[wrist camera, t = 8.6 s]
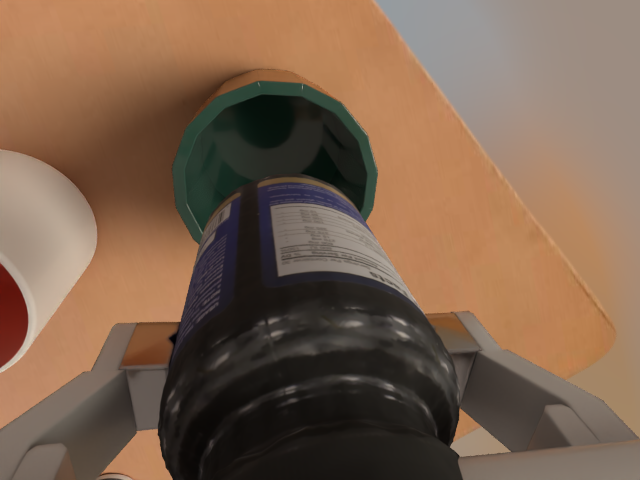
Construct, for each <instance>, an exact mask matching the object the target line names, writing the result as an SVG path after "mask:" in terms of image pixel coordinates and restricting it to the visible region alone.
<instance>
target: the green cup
mask: <svg viewBox="0 0 640 480" xmlns="http://www.w3.org/2000/svg"><path fill="white" fill-rule="evenodd" d="M293 173H297V174H304V175H308V176H311V177H313V178H317V179H319V180H322V181H324V182H326V183H328V184H330V185H332V186H334V187H336V188H337V189H339V190H340V191H341V192H342V193H343V194H344V195H345V196H347V197H348V198H349V199H350V200H351V201H352V202H353V203H354V204H355V206H356V208H357V209H358V211H359V213H360V214H361V216H362V218H363V219H364V221H365V222H366V220H367V218H368V217H369V215H370V213H371V211H372V208H373V206H374V198H375V191H376V184H377V176H378V170H377V166H376V162H375V159H374V155H373V151H372V148H371V144H370V140H369V137H368V135H367V133H366V132H365V130H364V129H363V128H362V127H361V125H360V124H359V123H358V122H357V121H356V119H355V118H354V117H353V116H352V114H351V113H350V112H349V111H348V109H347V108H346V107H345V106H344V104H342V103H341V102H340V101H339V100H337V99H336V98H335V97H333V96H332V95H330V94H329V93H328V92H326V91H325V90H324V89H322V88H321V87H320V86H318V85H316V84H314V83H312V82H310V81H308V80H307V79H305V78H303V77H301V76H299V75H297V74H295V73H293V72H290V71H281V70H274V69H257V70H253V71H251V72H247V73H244V74H241V75H239V76H237V77H234V78H232V79H229V80H227V81H225V82H224V83H223V84H222V85H221V86H220V87H219V88H218V89H217V90H216V91H215V92H214V93H213V94H212V95H211V96H210V97H209V99H208V100H207V101H206V102H205V103H204V104H203V105H202V106H201V108H200V109H199V110H198V112H197V113H196V114H195V116H194V117H193V118H192V120H191V121H190V122H189V124H188V125H187V126H186V128H185V131H184V133H183V136H182V139H181V142H180V145H179V147H178V150H177V153H176V156H175V159H174V162H173V164H172V176H173V186H174V197H175V206H176V209H177V211H178V212H179V214H180V216H181V218H182V220H183V221H184V223H185V225H186V227H187V229H188V230H189V232H190V234H191V236H192V238H193V239H194V240H195V241H196V242H197V243H198V244H199V245H200V242H201V238H202V235H203V232H204V229H205V226H206V224H207V221H208V219H209V217H210V215H211V213H212V212H213V211H214V210H215V209H216V208H217V206H218V205H219V203H220V202H221V201H223V200H224V199H225V197H226V196H228V195H229V194H230V193H231V192H232V191H234V190H236V189H237V188H239V187H240V186H242V185H245V184H248V183H250V182H253V181H255V180H258V179H262V178H264V177H267V176H270V175H276V174H293Z"/></svg>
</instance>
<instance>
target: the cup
mask: <svg viewBox="0 0 640 480" xmlns="http://www.w3.org/2000/svg"><path fill="white" fill-rule="evenodd" d="M96 245H97V226H96V221H95V217H94V214H93V212H92V209H91V207H90V205H89V203H88V202H87V200H86V198H85V197H84V195H83V194H82V193H81V191H80V190H79V189H78V188H77V187H76V186H75V184H73V183H72V182H71V181H70V180H69V179H68V178H67V177H66V176H65V175H63V174H62V173H61V172H59V171H58V170H56V169H55V168H53V167H52V166H50V165H48V164H46V163H44V162H43V161H40V160H38V159H36V158H34V157H31V156H28V155H25V154H22V153H19V152H14V151H9V150H3V149H0V373H1V372H3V371H5V370H6V369H8V368H9V367H11V366H12V365H13V364H15V363H16V362H17V361H18V360H19V359H20V358H21V357H22V356H23V355H24V354H25V353H26V351H27V350H28V349H29V347H30V346H31V345H32V343H33V342H34V340H35V339H36V338H37V336H38V335H39V333H40V332H41V331H42V329H43V328H44V326H45V325H46V324H47V322H48V321H49V320H50V318H51V317H52V315H53V314H54V313H55V311H56V310H57V308H58V307H59V306H60V304H61V303H62V302H63V300H64V299H65V297H66V296H67V295H68V293H69V292H70V290H71V289H72V288H73V286H74V285H75V284H76V282H77V281H78V279H79V278H80V277H81V275H82V274H83V272H84V271H85V270H86V268H87V267H88V265H89V264H90V262H91V260H92V258H93V255H94V253H95V249H96Z"/></svg>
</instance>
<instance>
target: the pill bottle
mask: <svg viewBox="0 0 640 480" xmlns="http://www.w3.org/2000/svg"><path fill="white" fill-rule="evenodd" d="M459 391H460V388H459V384H458V377H457V374H456V372H455V365H454V363H453V360H452V357H451V355H450V354H449V353H448V351H447V349H446V348H445V346H444V344H443V342H442V340H441V338H440V336H439V335H438V334H437V333H436V331H435V330H434V328H433V326H432V325H431V323H430V322H429V321H428V319H427V318H426V316H425V314H424V312H423V311H422V309H421V308H420V306H419V305H418V303H417V302H416V300H415V299H414V297H413V296H412V294H411V293H410V291H409V289H408V288H407V286H406V285H405V283H404V282H403V280H402V278H401V277H400V275H399V274H398V272H397V271H396V269H395V267H394V266H393V264H392V263H391V261H390V260H389V258H388V256H387V255H386V253H385V252H384V250H383V249H382V247H381V246H380V244H379V243H378V241H377V239H376V238H375V236H374V235H373V233H372V232H371V230H370V229H369V227H368V225H367V224H366V222H365V221H364V219H363V218H362V216H361V214H360V213H359V211H358V209H357V208H356V206H355V204H354V203H353V202H352V201H351V200H350V199H349V198H348V197H347V196H345V195H344V194H343V193H342V192H341V191H340V190H339V189H337V188H336V187H334V186H332V185H330V184H328V183H326V182H324V181H322V180H319V179H317V178H313V177H311V176H308V175H304V174H297V173H293V174H276V175H270V176H267V177H264V178H262V179H258V180H255V181H253V182H250V183H248V184H245V185H242V186H240V187H239V188H237V189H236V190H234V191H232V192H231V193H230V194H229V195H228V196H226V197H225V199H224V200H223V201H221V202H220V203H219V205H218V206H217V208H216V209H215V210H214V211H213V212H212V213H211V215H210V217H209V219H208V221H207V224H206V226H205V229H204V232H203V235H202V238H201V242H200V245H199V249H198V253H197V257H196V261H195V265H194V268H193V274H192V277H191V281H190V285H189V290H188V294H187V297H186V302H185V306H184V311H183V315H182V318H181V323H180V327H179V331H178V335H177V340H176V344H175V348H174V352H173V356H172V360H171V364H170V368H169V372H168V376H167V379H166V382H165V385H164V388H163V392H162V397H161V402H160V412H159V422H158V436H159V439H160V447H161V451H162V457H163V459H164V461H165V465H166V469H167V470H168V471H169V473H170V474H171V476H172V478H173V480H463V477H462V474H461V471H460V468H459V464H458V459H459V457H460V456H459V455H458V454H457V453H456V452H455V451H454V450H452V449H451V448H450V445H451V443H452V442H453V438H454V436H455V432H456V428H457V424H458V421H459V409H460V392H459Z"/></svg>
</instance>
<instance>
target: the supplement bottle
mask: <svg viewBox="0 0 640 480" xmlns="http://www.w3.org/2000/svg"><path fill="white" fill-rule="evenodd" d="M96 480H133V479H131V478H130V477H128V476H125V475H121V474H106V475H102V476H99V477H97V479H96Z"/></svg>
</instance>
